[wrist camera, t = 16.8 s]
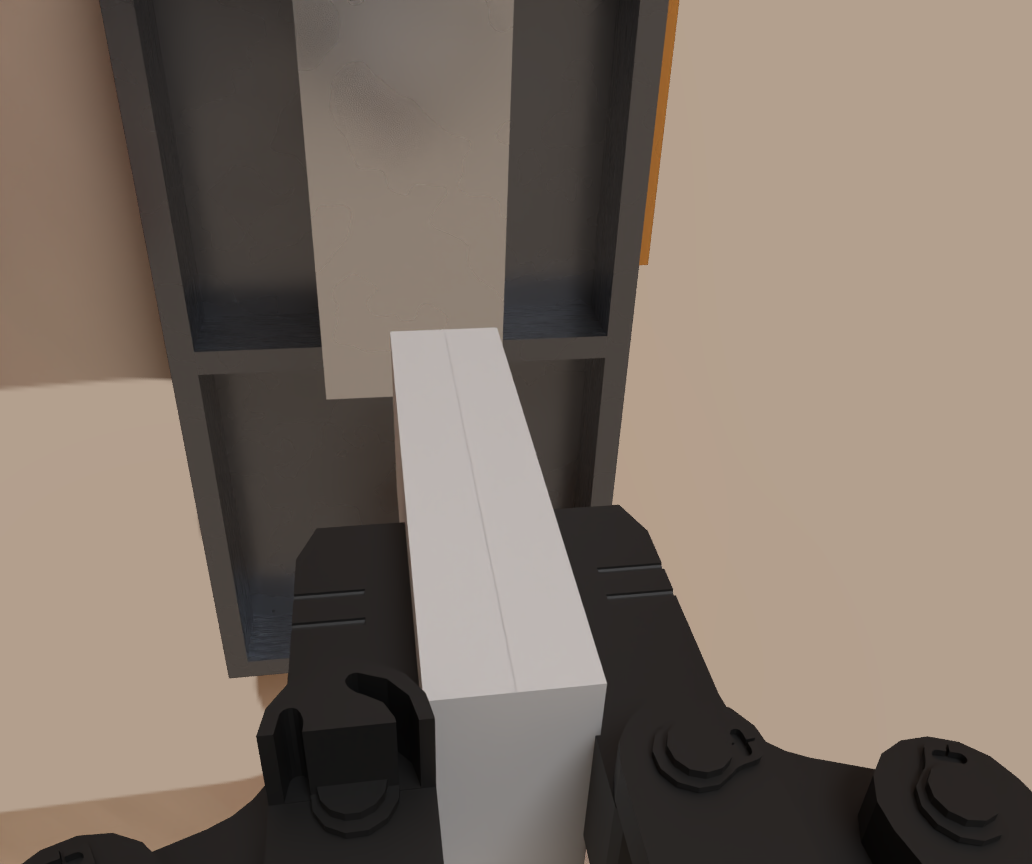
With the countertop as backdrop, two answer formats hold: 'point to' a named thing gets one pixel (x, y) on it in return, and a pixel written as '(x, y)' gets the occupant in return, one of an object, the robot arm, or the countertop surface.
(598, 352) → the tray
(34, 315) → the countertop surface
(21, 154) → the countertop surface
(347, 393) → the plain grey rectangular box
